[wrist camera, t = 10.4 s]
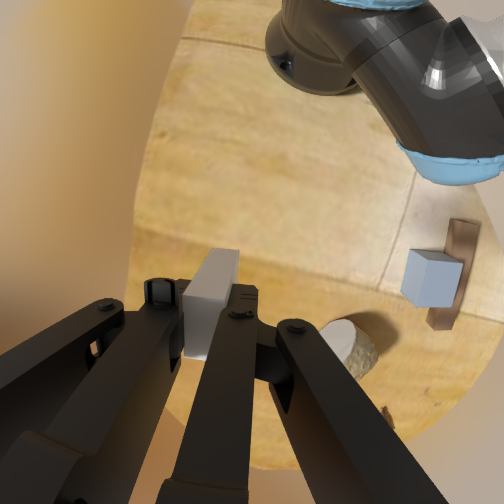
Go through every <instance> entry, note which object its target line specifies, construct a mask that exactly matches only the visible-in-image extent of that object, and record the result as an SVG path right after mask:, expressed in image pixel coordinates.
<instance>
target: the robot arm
mask: <svg viewBox="0 0 504 504" xmlns="http://www.w3.org/2000/svg"><path fill="white" fill-rule="evenodd" d="M265 50H266V55H267V58H268V61H269V63H270V65H271V66H272V68H273V69H274V71H275V72H276V73H277V74H278V75H279V76H280V77H281V78H282V79H283V80H284V81H285V82H287V83H288V84H290V85H291V86H293V87H295V88H297V89H299V90H301V91H304V92H307V93H311V94H315V95H337V94H341V93H344V92H347V91H349V90H351V89H352V88H354V87H355V86H357V85H359V86H360V87H361V89H362V90H363V91H364V93H365V94H366V95H367V97H368V98H369V100H370V101H371V102H372V104H373V105H374V107H375V108H376V109H377V111H378V112H379V114H380V115H381V117H382V118H383V120H384V121H385V123H386V124H387V126H388V127H389V129H390V130H391V132H392V133H393V135H394V137H395V138H396V143H397V144H398V146H399V147H400V149H401V150H403V151H404V152H405V153H406V155H407V156H408V158H409V159H410V161H411V162H412V164H413V166H414V167H415V169H416V170H417V172H418V173H419V174H420V175H421V176H422V177H423V178H425V179H428V180H430V181H431V182H433V183H436V184H440V185H448V186H460V185H469V184H475V183H479V182H483V181H486V180H489V179H492V178H494V177H496V176H498V175H499V174H500V171H504V15H503V16H501V17H499V18H497V19H495V20H493V21H491V22H488V23H487V22H486V23H485V22H481V21H478V20H475V19H472V18H469V17H466V16H463V15H462V16H460V17H459V18H457V19H455V20H453V21H452V22H450V23H448V22H446V21H445V20H444V18H443V17H442V16H441V14H440V13H439V12H438V11H437V9H436V8H435V7H434V6H433V5H432V4H431V2H429V0H282V10H281V11H280V12H279V13H278V14H277V15H276V16H275V17H274V18H273V19H272V21H271V22H270V24H269V26H268V28H267V32H266V37H265ZM239 251H240V250H231V249H220V248H212V250H211V251H210V253H209V254H208V256H207V257H206V259H205V261H204V262H203V264H202V265H201V267H200V268H199V270H198V271H197V273H196V274H195V276H194V278H193V279H192V280H186V279H178V280H176V281H175V280H173V279H169V278H153V279H149V280H147V281H145V282H144V294H145V303H144V305H143V306H142V307H141V308H140V309H139V311H124V305H123V303H122V302H121V301H119V300H116V299H112V298H109V299H108V298H104V299H101V300H98V301H95V302H93V303H91V304H89V305H88V306H86V307H84V308H82V309H80V310H79V311H77V312H75V313H73V314H71V315H70V316H68V317H66V318H64V319H62V320H61V321H59V322H57V323H55V324H54V325H52V326H50V327H48V328H47V329H45V330H43V331H41V332H40V333H38V334H36V335H34V336H33V337H31V338H29V339H28V340H26V341H24V342H23V343H21V344H19V345H17V346H16V347H14V348H12V349H11V350H9V351H7V352H6V353H4V354H2V355H1V356H0V504H128V502H129V499H130V496H131V494H132V491H133V488H134V486H135V483H136V480H137V477H138V475H139V472H140V469H141V467H142V464H143V461H144V458H145V456H146V453H147V451H148V448H149V445H150V443H151V440H152V437H153V435H154V432H155V429H156V427H157V424H158V422H159V419H160V416H161V414H162V411H163V408H164V406H165V404H166V401H167V399H168V396H169V393H170V391H171V388H172V386H173V383H174V381H175V378H176V376H177V373H178V371H179V368H180V366H181V352H182V349H183V347H184V358H190V359H198V360H205V361H206V362H205V365H204V368H203V372H202V375H201V378H200V382H199V385H198V388H197V392H196V395H195V398H194V402H193V405H192V409H191V412H190V415H189V419H188V422H187V426H186V429H185V433H184V436H183V439H182V443H181V446H180V450H179V454H178V457H177V460H176V464H175V467H174V471H173V473H172V476H171V477H170V478H168V479H165V481H164V482H163V483H162V485H161V488H160V491H159V493H158V497H157V500H156V503H155V504H248V499H249V491H248V475H249V461H250V445H251V429H252V412H253V395H254V378H256V379H260V380H263V381H266V382H269V390H270V392H271V395H272V398H273V400H274V403H275V405H276V408H277V410H278V413H279V416H280V418H281V421H282V423H283V426H284V428H285V431H286V433H287V436H288V438H289V441H290V443H291V446H292V448H293V451H294V453H295V455H296V458H297V460H298V463H299V465H300V468H301V470H302V472H303V474H304V477H305V480H306V481H307V484H308V487H309V489H310V491H311V494H312V496H313V498H314V501H315V503H316V504H449V503H448V502H447V501H446V499H445V498H444V497H443V495H442V494H441V493H440V491H439V490H438V489H437V487H436V486H435V485H434V483H433V482H432V481H431V479H430V478H429V477H428V475H427V474H426V473H425V472H424V470H423V469H422V467H421V466H420V465H419V463H418V462H417V461H416V459H415V458H414V457H413V455H412V454H411V453H410V452H409V450H408V449H407V447H406V446H405V445H404V443H403V442H402V441H401V439H400V438H399V437H398V436H397V434H396V433H395V432H394V430H393V429H392V428H391V426H390V425H389V424H388V422H387V421H386V420H385V418H384V417H383V416H382V414H381V413H380V412H379V410H378V409H377V408H376V407H375V405H374V404H373V403H372V401H371V400H370V399H369V397H368V396H367V395H366V393H365V392H364V391H363V389H362V388H361V387H360V385H359V384H358V383H357V382H356V380H355V379H354V378H353V376H352V375H351V374H350V372H349V371H348V370H347V368H346V367H345V366H344V364H343V363H342V362H341V361H340V359H339V358H338V357H337V355H336V354H335V353H334V351H333V350H332V349H331V347H330V346H329V345H328V344H327V342H326V341H325V340H324V338H323V337H322V336H321V334H320V333H319V332H318V330H317V329H316V328H315V327H314V326H313V325H312V324H311V323H309V322H307V321H305V320H302V319H301V320H300V319H297V318H296V319H285V320H282V321H280V322H279V323H278V325H277V327H273V326H270V325H267V324H265V323H263V322H261V321H260V320H259V319H258V315H257V308H258V289H257V288H256V287H255V286H254V285H244V284H237V279H238V265H239ZM94 341H96V345H97V350H98V352H97V353H96V354H94V355H93V354H92V352H91V347H90V344H91V343H93V342H94Z"/></svg>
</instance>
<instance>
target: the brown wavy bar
mask: <svg viewBox="0 0 504 504" xmlns="http://www.w3.org/2000/svg"><path fill="white" fill-rule="evenodd" d="M478 229H479V226H478V225H475V224H472V223H469V222H465V221H460V220H455V219H450V222H449V228H448V234H447V239H446V244H445V249H444V253H445V254H446V255H448V256H450V257H452V258H454V259H456V260H458V261H459V262H461V263H463V266H462V270H461V274H460V278H459V282H458V286H457V289H456V293H455V296H454V300H453V303H452V306H451V307H430V308H429V312H428V315H427V318H426V322H427V323H428V324H429V325H430V326H431V327H432V328H433V329H434V331H436V330H452V327H453V324H454V322H455V319H456V316H457V313H458V310H459V306H460V303H461V300H462V297H463V293H464V290H465V286H466V283H467V279H468V275H469V271H470V267H471V263H472V259H473V254H474V250H475V245H476V240H477V235H478Z"/></svg>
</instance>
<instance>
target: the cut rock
mask: <svg viewBox="0 0 504 504" xmlns="http://www.w3.org/2000/svg"><path fill="white" fill-rule="evenodd" d="M319 333H320V334H321V336H322V337H323V338H324V340H325V341H326V342H327V344H328V345H329V346H330V347H331V349H332V350H333V351H334V353H335V354H336V355H337V357H338V358H339V359H340V361H341V362H342V363H343V364H344V366H345V367H346V368H347V370H348V371H349V372H350V374H351V375H352V376H353V378H354V379H355V380H356V382H357V381H359V380H360V379H362V377H363V376H364V375H365V374H367V373H368V372H369V371H370V370H371V369H372V368H373V367H374V366H375V364H376V363H377V362H378V353H377V350H376V346H375V344H374V343H373V341H372V340H371V338H370V337H369V336H368V335H367V334H365V332H364V331H363V330H361V329H360V328H358V327H357V326H356V325H355V324H354V323H353V322H352V321H349V320H346V319H341V320H335V321H332V322H328V324H327V325H326V326H325V327H323V328H322V330H321V331H320V332H319Z"/></svg>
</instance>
